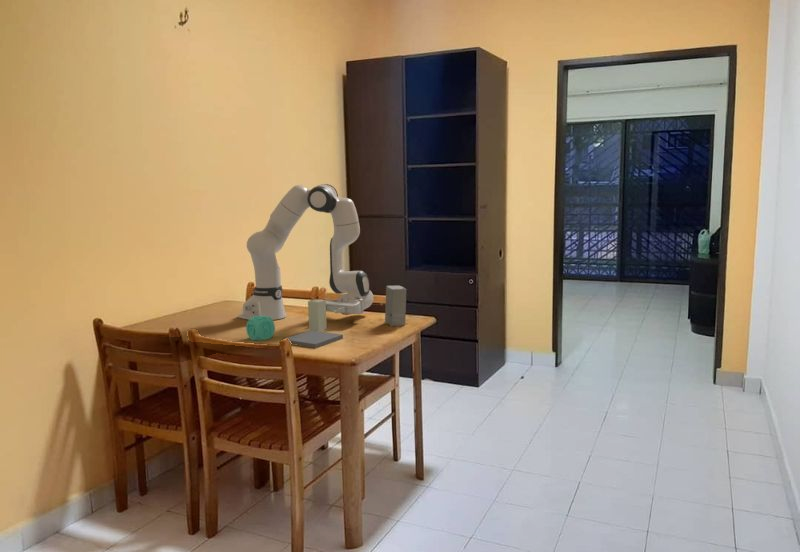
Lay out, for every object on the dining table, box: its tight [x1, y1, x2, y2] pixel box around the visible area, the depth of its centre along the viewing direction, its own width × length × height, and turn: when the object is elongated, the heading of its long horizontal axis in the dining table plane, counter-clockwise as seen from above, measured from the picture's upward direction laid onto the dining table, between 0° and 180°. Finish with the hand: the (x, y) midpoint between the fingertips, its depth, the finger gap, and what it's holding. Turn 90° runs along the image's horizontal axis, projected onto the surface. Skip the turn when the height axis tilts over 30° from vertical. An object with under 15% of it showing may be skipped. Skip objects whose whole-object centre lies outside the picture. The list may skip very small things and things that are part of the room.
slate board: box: [287, 330, 344, 349], centre depth 231 cm, size 16×16×2 cm
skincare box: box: [384, 285, 407, 327], centre depth 255 cm, size 8×7×16 cm
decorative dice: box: [245, 316, 276, 342], centre depth 236 cm, size 8×8×8 cm
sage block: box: [307, 298, 328, 332], centre depth 248 cm, size 5×5×12 cm
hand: (326, 310), depth 253 cm, fingers open, 8 cm apart
